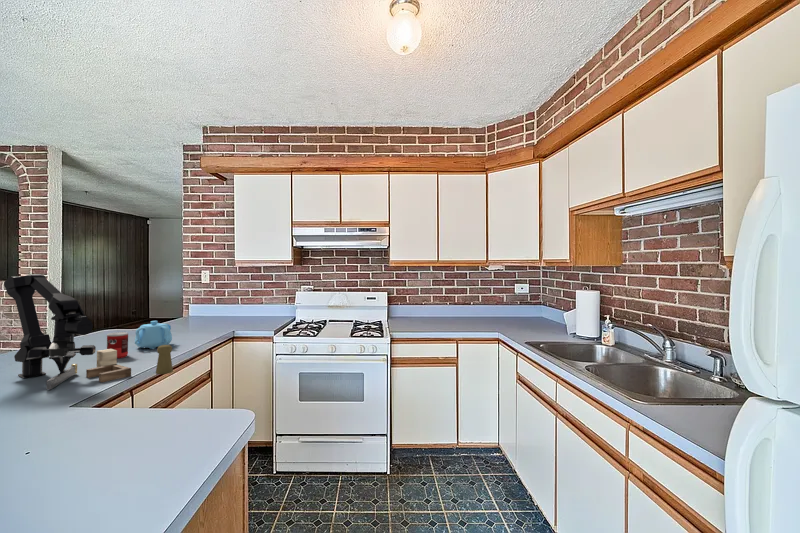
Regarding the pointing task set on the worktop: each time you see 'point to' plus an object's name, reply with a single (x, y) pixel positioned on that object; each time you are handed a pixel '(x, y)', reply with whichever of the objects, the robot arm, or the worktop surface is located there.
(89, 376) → the walnut cradle
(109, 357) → the birch block
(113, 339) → the canned food
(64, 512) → the worktop surface
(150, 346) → the decorative pot
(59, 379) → the bar
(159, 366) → the cork
